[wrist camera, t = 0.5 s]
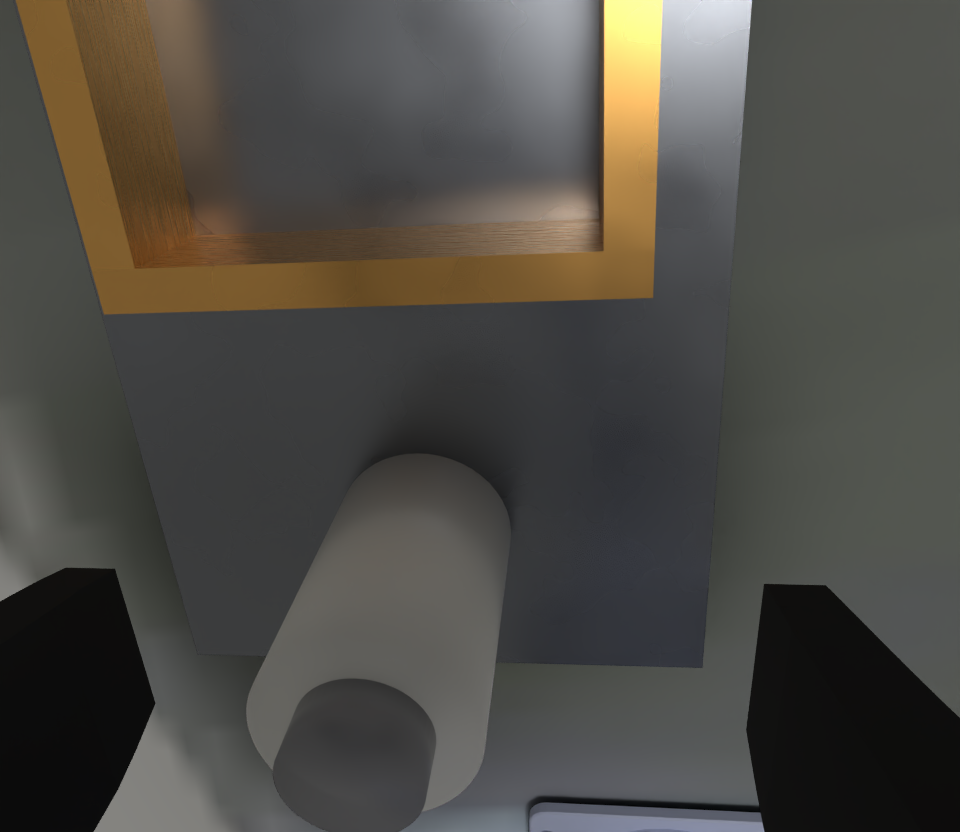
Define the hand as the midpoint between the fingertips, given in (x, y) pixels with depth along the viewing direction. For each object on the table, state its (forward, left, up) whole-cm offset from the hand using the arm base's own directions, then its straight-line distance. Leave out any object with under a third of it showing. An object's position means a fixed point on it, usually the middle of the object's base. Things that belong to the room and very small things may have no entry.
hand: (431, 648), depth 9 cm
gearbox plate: (+2, +2, -10) cm, 10 cm away
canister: (-4, +2, -9) cm, 10 cm away
